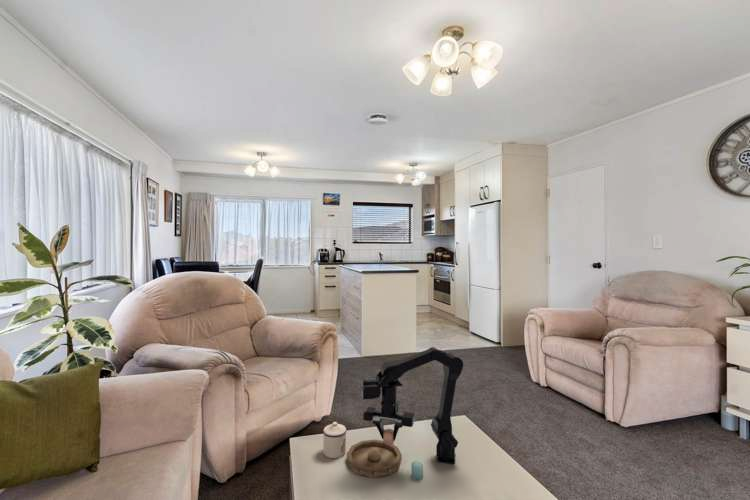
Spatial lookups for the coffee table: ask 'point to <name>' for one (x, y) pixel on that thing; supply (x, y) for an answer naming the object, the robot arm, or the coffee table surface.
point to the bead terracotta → (388, 436)
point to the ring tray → (374, 458)
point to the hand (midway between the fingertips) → (388, 439)
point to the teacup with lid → (334, 440)
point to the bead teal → (417, 470)
